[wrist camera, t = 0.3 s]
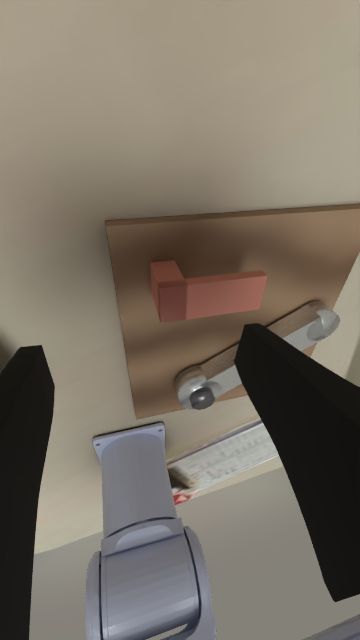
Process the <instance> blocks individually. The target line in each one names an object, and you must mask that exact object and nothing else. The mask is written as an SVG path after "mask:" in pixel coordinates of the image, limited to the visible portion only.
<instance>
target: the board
mask: <svg viewBox="0 0 360 640" xmlns="http://www.w3.org/2000/svg"><path fill="white" fill-rule="evenodd" d="M105 225H106V232H107V238H108V244H109V251H110V257H111V263H112V270H113V276H114V282H115V289H116V295H117V301H118V307H119V314H120V320H121V326H122V333H123V339H124V345H125V352H126V358H127V364H128V371H129V377H130V383H131V389H132V396H133V402H134V408H135V415H136V419H141V418H145V417H150V416H154V415H159V414H164V413H168V412H173V411H177V410H182V409H187V408H185V407H183V406H182V405H181V404H180V402H179V398H178V395H177V391H176V388H175V380H176V378H177V377H178V376H179V374H180V373H182V372H183V371H185V370H186V369H188V368H191V367H194V366H200V365H202V364H204V363H206V362H207V361H209V360H211V359H213V358H214V357H216V356H218V355H220V354H221V353H223V352H225V351H227V350H228V349H230V348H232V347H234V346H235V345H237V344H239V342H240V338H241V335H242V332H243V328H244V325H245V324H253V323H260V324H261V325H263V326H264V327H266V328H267V327H269V326H270V325H272V324H274V323H276V322H277V321H279V320H281V319H283V318H284V317H286V316H288V315H290V314H291V313H293V312H295V311H297V310H298V309H300V308H302V307H304V306H305V305H307V304H309V303H311V302H315V301H320V302H323V303H324V304H325V305H326V306H328V307H329V308H330V309H331V310H333V307H334V305H335V303H336V301H337V299H338V297H339V295H340V292H341V290H342V288H343V286H344V284H345V282H346V280H347V277H348V275H349V273H350V271H351V269H352V267H353V265H354V262H355V260H356V258H357V256H358V254H359V252H360V204H351V205H336V206H321V207H305V208H290V209H275V210H259V211H244V212H229V213H213V214H198V215H183V216H167V217H152V218H137V219H121V220H106V221H105ZM172 260H175V262H176V264H177V266H178V268H179V270H180V272H181V274H182V276H183V278H184V279H190V278H198V277H207V276H216V275H224V274H233V273H242V272H250V271H259V270H262V271H263V272H264V273H265V274H266V275H267V280H266V284H265V288H264V292H263V296H262V300H261V304H260V308H259V309H256V310H249V311H243V312H236V313H229V314H222V315H216V316H209V317H202V318H195V319H188V320H182V321H175V322H168V323H161V322H160V319H159V316H158V313H157V309H156V306H155V303H154V300H153V297H152V286H151V269H150V263H152V262H162V261H172ZM316 344H317V343H315V344H313V345H311V346H310V347H308V348H306V349H304V350H302V351H301V352H303V353H304V354H306V355H307V356H309V357H311V355H312V352H313V350H314V348H315V346H316ZM246 395H248V394H247V392H246V390H245V388H244V386H243V384H240V385H238V386H236V387H235V388H233V389H231V390H229V391H227V392H225V393H224V394H222V395H220V396H219V397H218V398H217V399H216V400H215V401H214V402H219V401H223V400H228V399H232V398H237V397H242V396H246Z"/></svg>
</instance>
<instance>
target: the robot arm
mask: <svg viewBox="0 0 360 640" xmlns="http://www.w3.org/2000/svg"><path fill="white" fill-rule="evenodd" d="M234 363H235V366H236V369H237V372H238V374H239V377H240V379H241V382H242V384H243V386H244V388H245V390H246V392H247V394H248V396H249V398H250V400H251V401H252V403H253V405H254V407H255V409H256V411H257V412H258V414H259V416H260V418H261V420H262V422H263V424H264V425H265V427H266V429H267V431H268V433H269V435H270V437H271V439H272V441H273V443H274V445H275V447H276V449H277V451H278V454H279V456H280V458H281V461H282V463H283V466H284V468H285V470H286V473H287V475H288V478H289V480H290V483H291V485H292V488H293V490H294V493H295V495H296V498H297V500H298V503H299V506H300V509H301V512H302V515H303V517H304V520H305V523H306V526H307V529H308V531H309V534H310V537H311V541H312V544H313V547H314V550H315V553H316V556H317V559H318V562H319V566H320V569H321V572H322V576H323V579H324V582H325V584H326V586H327V588H328V591H329V593H330V595H331V597H332V599H333V600H334V601H335V602H337V601H340V600H343V599H346V598H349V597H352V596H355V595H358V594H360V387H358V386H356V385H354V384H352V383H351V382H349V381H347V380H345V379H344V378H342V377H340V376H339V375H337V374H335V373H334V372H332V371H330V370H329V369H327V368H326V367H324V366H322V365H321V364H319V363H318V362H316V361H315V360H313V359H312V358H310V357H309V356H307V355H306V354H304V353H303V352H301V351H300V350H298V349H297V348H295V347H294V346H292V345H291V344H289V343H288V342H287V341H285V340H284V339H282V338H281V337H279V336H278V335H276V334H275V333H274V332H272V331H271V330H269V329H268V328H266V327H264V326H263V325H261V324H260V323H253V324H245V325H244V328H243V332H242V335H241V338H240V342H239V345H238V349H237V352H236V355H235V359H234ZM54 389H55V386H54V382H53V379H52V376H51V373H50V370H49V367H48V364H47V360H46V357H45V354H44V351H43V348H42V345H38V346H28V347H20V348H19V349H18V351H17V352H16V353H15V354H14V356H13V357H12V358H11V360H10V361H9V363H8V364H7V365H6V367H5V368H4V369H3V370H2V372H1V373H0V640H29V625H30V606H31V588H32V572H33V558H34V544H35V531H36V520H37V508H38V499H39V492H40V485H41V479H42V474H43V468H44V463H45V457H46V452H47V446H48V441H49V435H50V430H51V424H52V418H53V408H54ZM93 445H94V448H95V451H96V453H97V456H98V458H99V461H100V464H101V466H102V496H103V532H104V533H103V534H104V539H102V540H101V551H97V552H95V553H94V554H93V557H92V558H91V560H90V562H89V564H88V568H87V578H86V636H87V640H145V639H148V638H150V637H153V636H156V635H158V634H161V633H163V632H166V631H169V630H171V629H174V628H176V627H179V626H182V625H184V624H187V623H188V624H187V626H186V627H185V628H184V629H183V630H182V631H180V632H179V633H176V634H174V635H171V636H169V637H166V638H164V639H161V640H216V635H215V634H216V625H215V620H214V614H213V609H212V603H211V590H210V582H209V576H208V571H207V566H206V562H205V558H204V554H203V550H202V547H201V544H200V541H199V539H198V536H197V535H196V533H195V532H194V531H193V530H192V529H191V528H190V527H189V526H185V527H183V524H182V519H181V518H177V514H176V509H175V504H174V499H173V494H172V489H171V484H170V480H169V475H168V470H167V465H166V454H165V428H164V424H163V423H157V424H153V425H148V426H144V427H139V428H135V429H130V430H126V431H122V432H117V433H113V434H108V435H104V436H99V437H95V438H94V439H93ZM303 640H360V614H359V615H357V616H355V617H352V618H350V619H348V620H345V621H343V622H341V623H339V624H337V625H334V626H332V627H330V628H328V629H325V630H323V631H321V632H319V633H317V634H314V635H312V636H310V637H308V638H305V639H303Z"/></svg>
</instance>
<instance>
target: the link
mask: <svg viewBox="0 0 360 640" xmlns="http://www.w3.org/2000/svg"><path fill="white" fill-rule="evenodd" d="M339 322H340V318H339V316H338V315H337V314H336V313H335V312H333V311H332V310H331V309H330V308H329V307H328V306H326V305H325V304H324V303H323V302H320V301H315V302H311V303H309V304H307V305H305V306H304V307H302V308H300V309H298V310H297V311H295V312H293V313H291V314H290V315H288V316H286V317H284V318H283V319H281V320H279V321H277V322H276V323H274V324H272V325H270V326H269V327H267V328H268V329H269V330H271V331H272V332H274V333H275V334H276V335H278V336H279V337H281V338H282V339H284V340H285V341H287V342H288V343H289V344H291V345H292V346H294V347H295V348H297V349H298V350H300V351H302V350H304V349H306V348H308V347H310V346H311V345H313V344H315V343H317V342H319V341H321V340H322V339H324V338H326V337H328V336H329V335H330V334H332V333H333V332H334V331H335V329H336V328H337V327H338V325H339ZM238 345H239V344H237V345H235V346H234V347H232V348H230V349H228V350H227V351H225V352H223V353H221V354H220V355H218V356H216V357H214V358H213V359H211V360H209V361H207V362H206V363H204V364H202V365H200V366H194V367H191V368H188V369H186V370H185V371H183V372H182V373H180V374H179V376H178V377H177V378H176V380H175V388H176V391H177V395H178V398H179V402H180V404H181V405H182V406H183V407H185V408H188V409H197V410H200V409H205V408H207V407H209V406H211V405H212V404H213V403H214V401H215V400H216V399H217V398H218V397H219V396H220V395H222V394H224V393H225V392H227V391H229V390H231V389H233V388H235V387H236V386H238V385H240V384H242V382H241V379H240V377H239V374H238V372H237V369H236V366H235V363H234V359H235V355H236V352H237V349H238Z"/></svg>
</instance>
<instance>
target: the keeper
mask: <svg viewBox="0 0 360 640" xmlns="http://www.w3.org/2000/svg"><path fill="white" fill-rule="evenodd" d="M150 269H151V286H152V297H153V300H154V303H155V306H156V309H157V313H158V316H159V319H160V322H161V323H168V322H175V321H182V320H188V319H195V318H202V317H209V316H216V315H222V314H229V313H236V312H243V311H249V310H256V309H259V308H260V304H261V300H262V296H263V292H264V288H265V284H266V280H267V275H266V274H265V273H264V272H263V271H262V270H259V271H250V272H242V273H233V274H224V275H216V276H207V277H198V278H190V279H184V278H183V276H182V274H181V272H180V270H179V268H178V266H177V264H176V262H175V260H172V261H162V262H152V263H150Z"/></svg>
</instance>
